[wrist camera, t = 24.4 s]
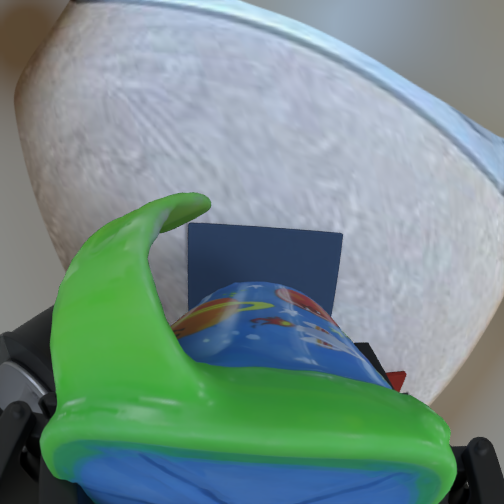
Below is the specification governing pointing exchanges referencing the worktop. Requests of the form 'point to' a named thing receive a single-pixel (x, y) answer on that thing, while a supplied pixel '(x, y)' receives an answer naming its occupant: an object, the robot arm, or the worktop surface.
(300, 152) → the worktop surface
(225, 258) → the blue mat
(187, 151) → the worktop surface
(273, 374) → the snack cup
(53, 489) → the robot arm
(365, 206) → the worktop surface
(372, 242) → the worktop surface
